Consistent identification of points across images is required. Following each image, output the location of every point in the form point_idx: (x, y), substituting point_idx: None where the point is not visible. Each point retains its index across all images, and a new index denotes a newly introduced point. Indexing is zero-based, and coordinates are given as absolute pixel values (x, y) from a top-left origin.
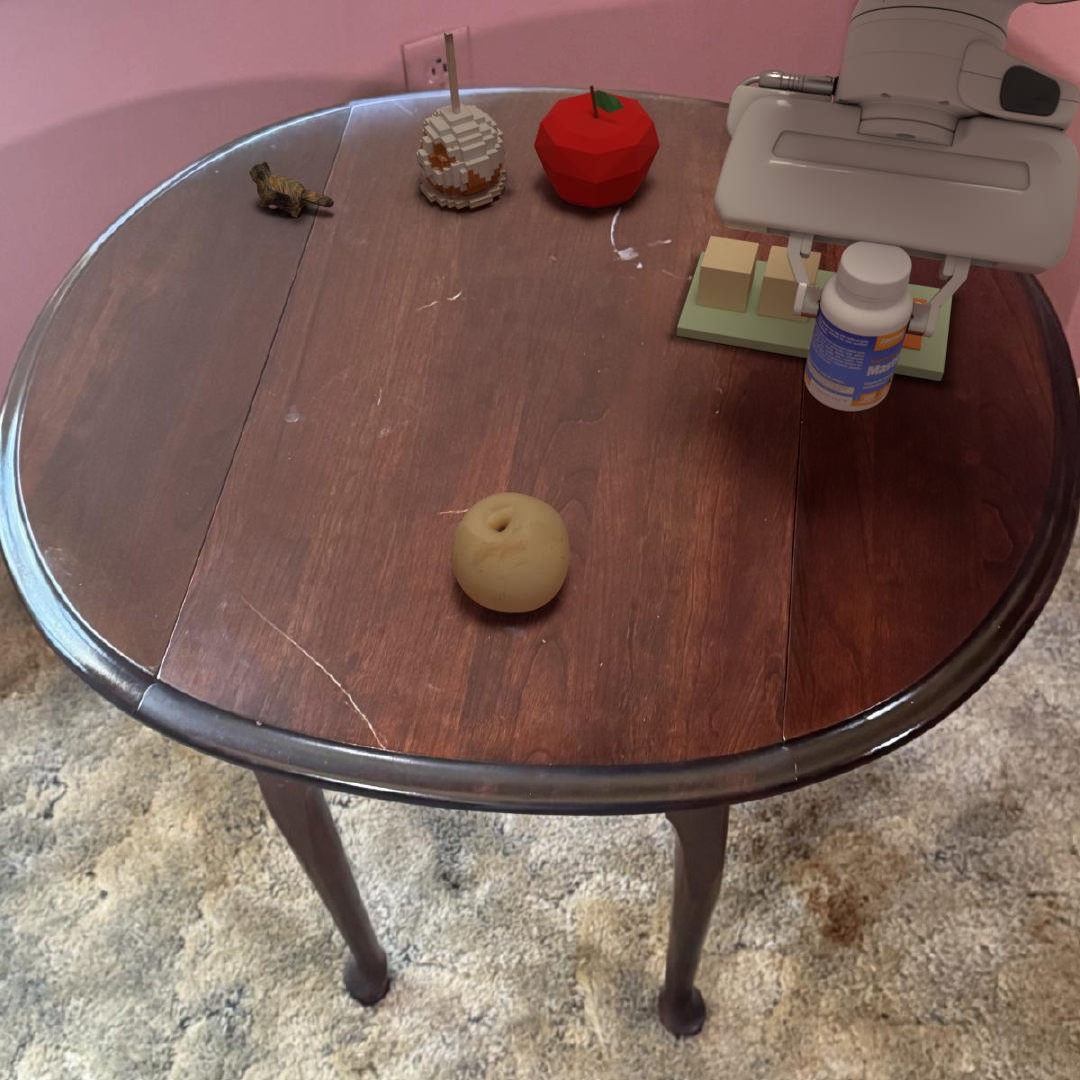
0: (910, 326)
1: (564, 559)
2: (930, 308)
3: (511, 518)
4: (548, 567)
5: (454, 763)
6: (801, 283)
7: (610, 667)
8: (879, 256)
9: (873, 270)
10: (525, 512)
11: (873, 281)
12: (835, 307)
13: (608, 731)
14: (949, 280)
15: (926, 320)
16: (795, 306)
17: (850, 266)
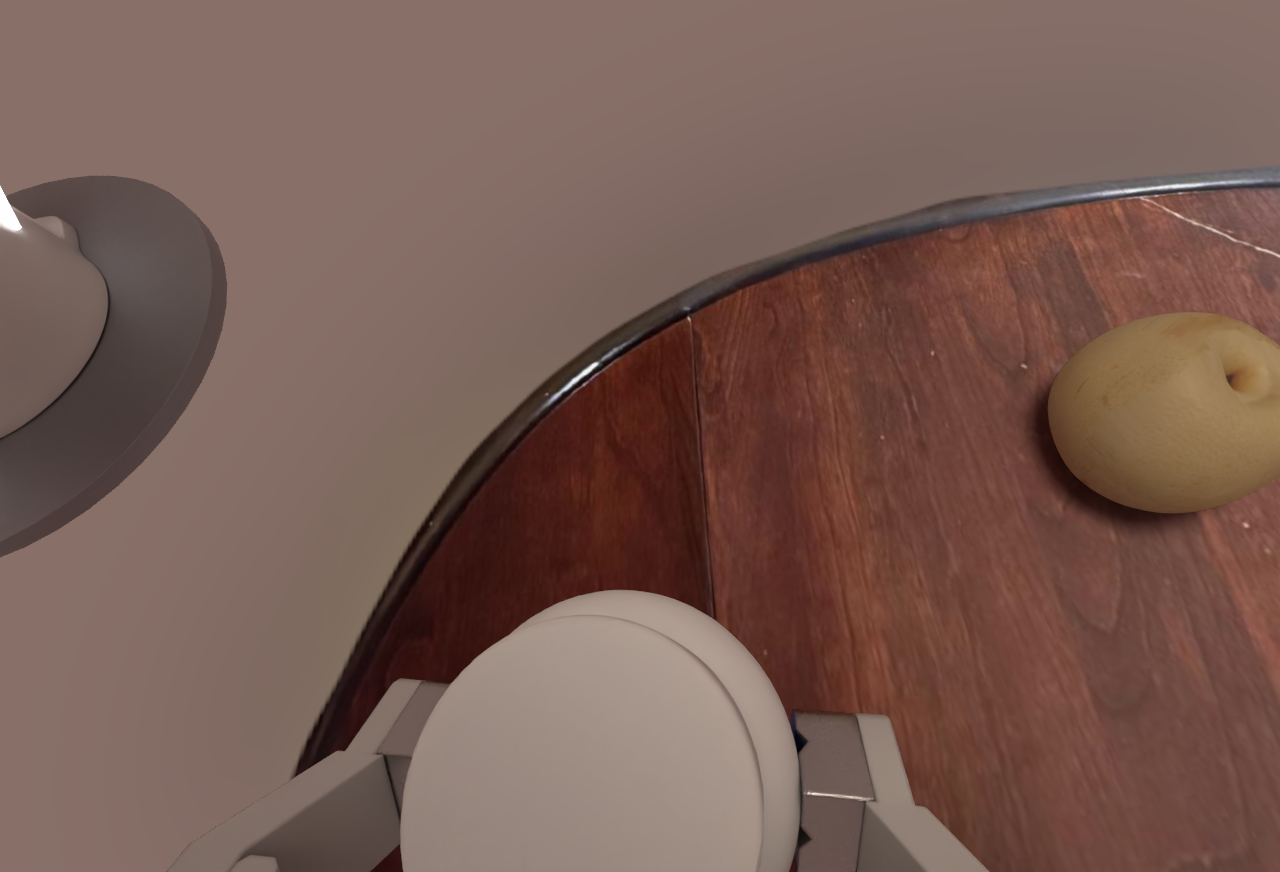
0: None
1: (1076, 391)
2: (383, 738)
3: (1227, 381)
4: (1096, 354)
5: (1049, 204)
6: (903, 799)
7: (919, 351)
8: (559, 845)
9: (591, 710)
10: (1211, 384)
11: (590, 618)
12: (735, 656)
13: (890, 277)
14: (264, 835)
15: (409, 707)
16: (885, 722)
17: (707, 725)
